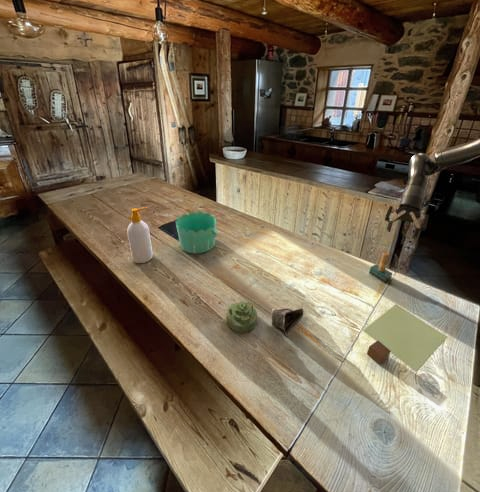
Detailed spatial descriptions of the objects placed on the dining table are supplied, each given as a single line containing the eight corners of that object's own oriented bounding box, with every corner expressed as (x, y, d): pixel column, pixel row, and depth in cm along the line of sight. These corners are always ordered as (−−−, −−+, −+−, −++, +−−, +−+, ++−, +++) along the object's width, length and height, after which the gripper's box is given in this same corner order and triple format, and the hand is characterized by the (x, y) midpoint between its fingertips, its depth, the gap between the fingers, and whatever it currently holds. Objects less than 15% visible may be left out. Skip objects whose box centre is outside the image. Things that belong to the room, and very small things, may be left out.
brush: (374, 270, 112) (381, 247, 107) (390, 279, 107) (398, 256, 102) (368, 273, 110) (375, 250, 105) (384, 283, 105) (392, 259, 100)
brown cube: (374, 349, 78) (378, 340, 77) (387, 360, 75) (391, 351, 74) (366, 355, 77) (369, 346, 75) (378, 367, 74) (382, 357, 72)
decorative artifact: (234, 304, 94) (221, 325, 85) (234, 288, 91) (220, 309, 82) (261, 313, 90) (249, 336, 82) (262, 297, 87) (250, 320, 79)
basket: (171, 242, 129) (168, 218, 123) (202, 229, 140) (200, 207, 135) (192, 260, 116) (191, 234, 111) (225, 245, 127) (224, 221, 122)
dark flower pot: (287, 304, 95) (269, 295, 87) (305, 309, 90) (288, 301, 82) (279, 331, 91) (261, 325, 83) (298, 339, 87) (279, 333, 79)
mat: (395, 305, 94) (395, 303, 94) (446, 338, 82) (447, 336, 82) (361, 331, 84) (362, 330, 84) (415, 373, 72) (415, 371, 72)
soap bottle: (155, 260, 116) (148, 211, 105) (132, 265, 112) (122, 215, 102) (153, 250, 123) (146, 203, 113) (132, 254, 120) (122, 206, 109)
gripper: (431, 206, 107) (420, 243, 103) (392, 198, 114) (380, 232, 111) (435, 198, 101) (423, 237, 97) (393, 190, 108) (381, 226, 105)
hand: (401, 234), depth 104 cm, fingers open, 8 cm apart
